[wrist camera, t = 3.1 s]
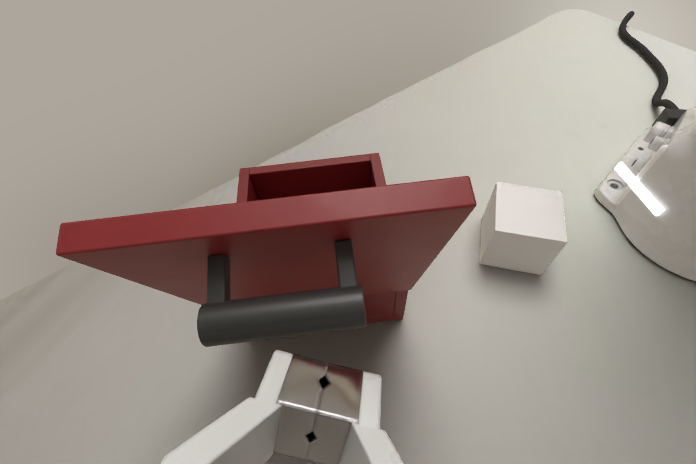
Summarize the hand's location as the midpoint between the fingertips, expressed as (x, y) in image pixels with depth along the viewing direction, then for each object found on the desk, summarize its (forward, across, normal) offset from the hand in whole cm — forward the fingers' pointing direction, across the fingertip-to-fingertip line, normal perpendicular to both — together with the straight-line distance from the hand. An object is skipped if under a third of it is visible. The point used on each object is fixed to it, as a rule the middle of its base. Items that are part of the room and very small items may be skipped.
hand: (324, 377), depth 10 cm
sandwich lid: (+10, +3, +3) cm, 11 cm away
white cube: (+29, -16, +7) cm, 34 cm away
